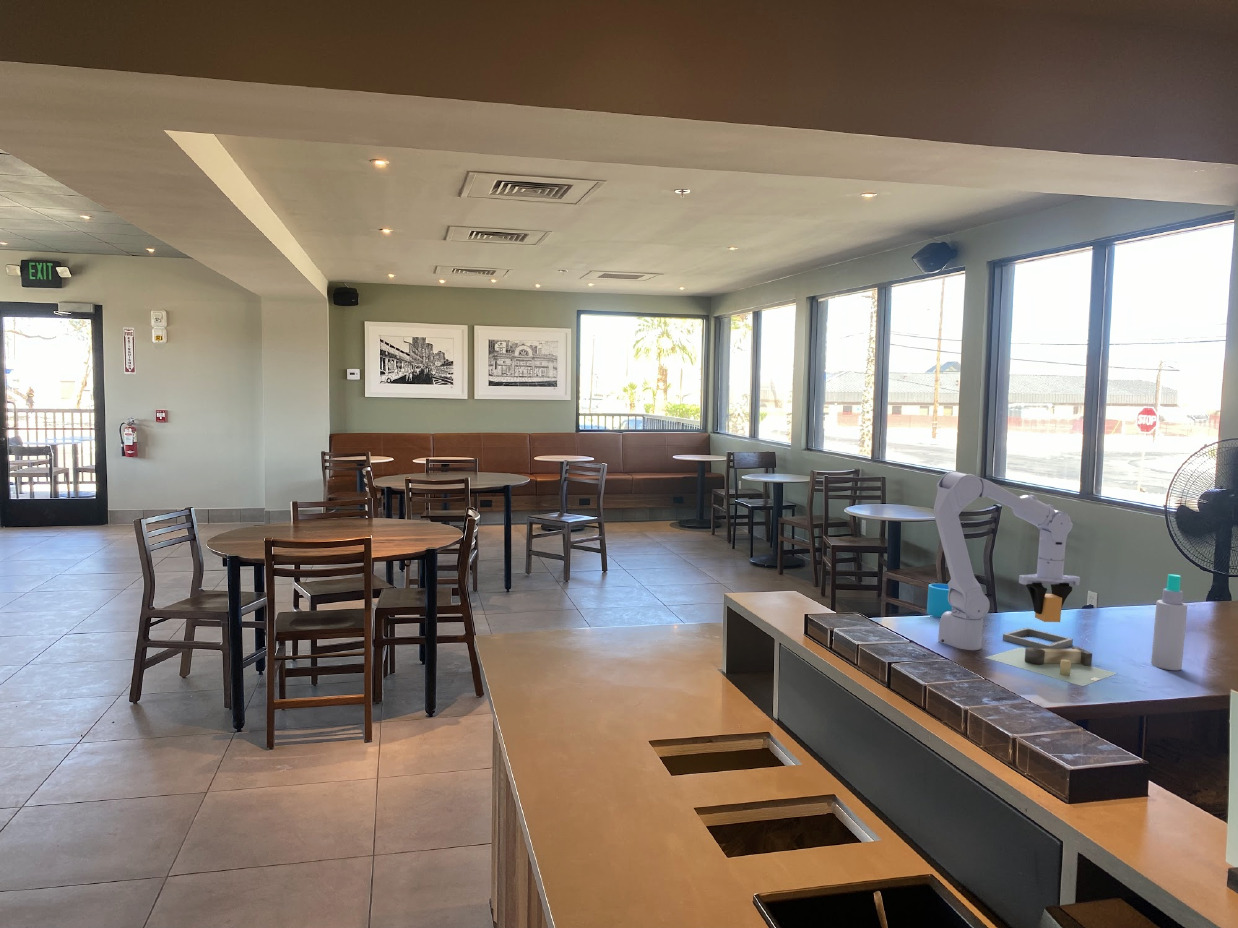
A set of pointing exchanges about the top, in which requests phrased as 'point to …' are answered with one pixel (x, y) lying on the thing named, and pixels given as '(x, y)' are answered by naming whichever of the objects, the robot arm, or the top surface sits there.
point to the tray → (1027, 632)
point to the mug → (938, 599)
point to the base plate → (1054, 668)
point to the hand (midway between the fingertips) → (1046, 613)
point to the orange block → (1050, 609)
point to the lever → (1057, 655)
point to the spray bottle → (1169, 627)
